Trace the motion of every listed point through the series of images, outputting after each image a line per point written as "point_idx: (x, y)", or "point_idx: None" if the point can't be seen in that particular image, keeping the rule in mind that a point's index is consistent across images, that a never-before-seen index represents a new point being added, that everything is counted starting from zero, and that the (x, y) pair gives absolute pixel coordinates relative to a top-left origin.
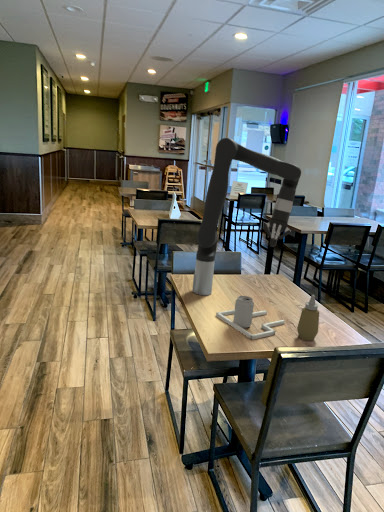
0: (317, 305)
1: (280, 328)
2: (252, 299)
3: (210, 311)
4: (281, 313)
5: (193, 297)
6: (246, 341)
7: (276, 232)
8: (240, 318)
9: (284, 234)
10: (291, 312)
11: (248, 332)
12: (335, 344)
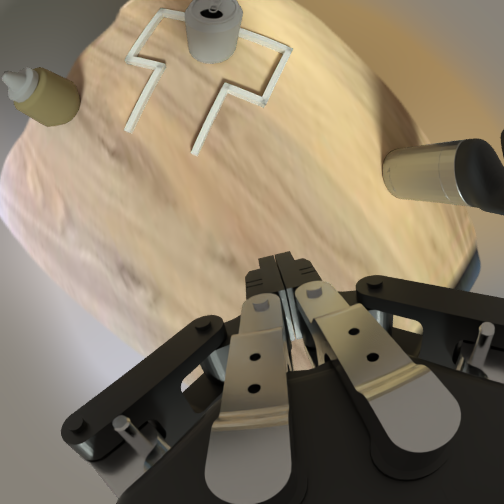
0: (8, 90)
1: (125, 100)
2: (191, 14)
3: (316, 67)
4: (161, 195)
5: (395, 125)
6: (168, 2)
7: (282, 337)
8: (209, 18)
9: (144, 376)
10: (143, 227)
11: (174, 13)
12: (20, 136)
